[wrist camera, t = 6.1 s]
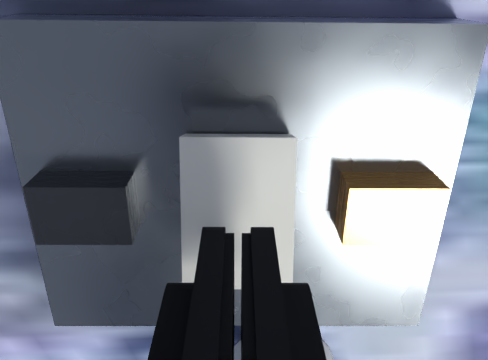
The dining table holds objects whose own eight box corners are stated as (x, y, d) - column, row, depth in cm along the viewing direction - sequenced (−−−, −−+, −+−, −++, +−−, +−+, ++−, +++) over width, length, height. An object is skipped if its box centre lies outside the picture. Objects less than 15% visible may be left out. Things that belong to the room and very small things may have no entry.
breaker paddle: (287, 270, 14) (292, 289, 12) (188, 270, 14) (182, 289, 12) (290, 134, 13) (296, 137, 11) (185, 133, 13) (179, 136, 11)
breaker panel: (400, 291, 18) (430, 350, 15) (73, 291, 18) (41, 350, 15) (457, 18, 14) (517, 28, 11) (16, 14, 13) (-46, 23, 10)
